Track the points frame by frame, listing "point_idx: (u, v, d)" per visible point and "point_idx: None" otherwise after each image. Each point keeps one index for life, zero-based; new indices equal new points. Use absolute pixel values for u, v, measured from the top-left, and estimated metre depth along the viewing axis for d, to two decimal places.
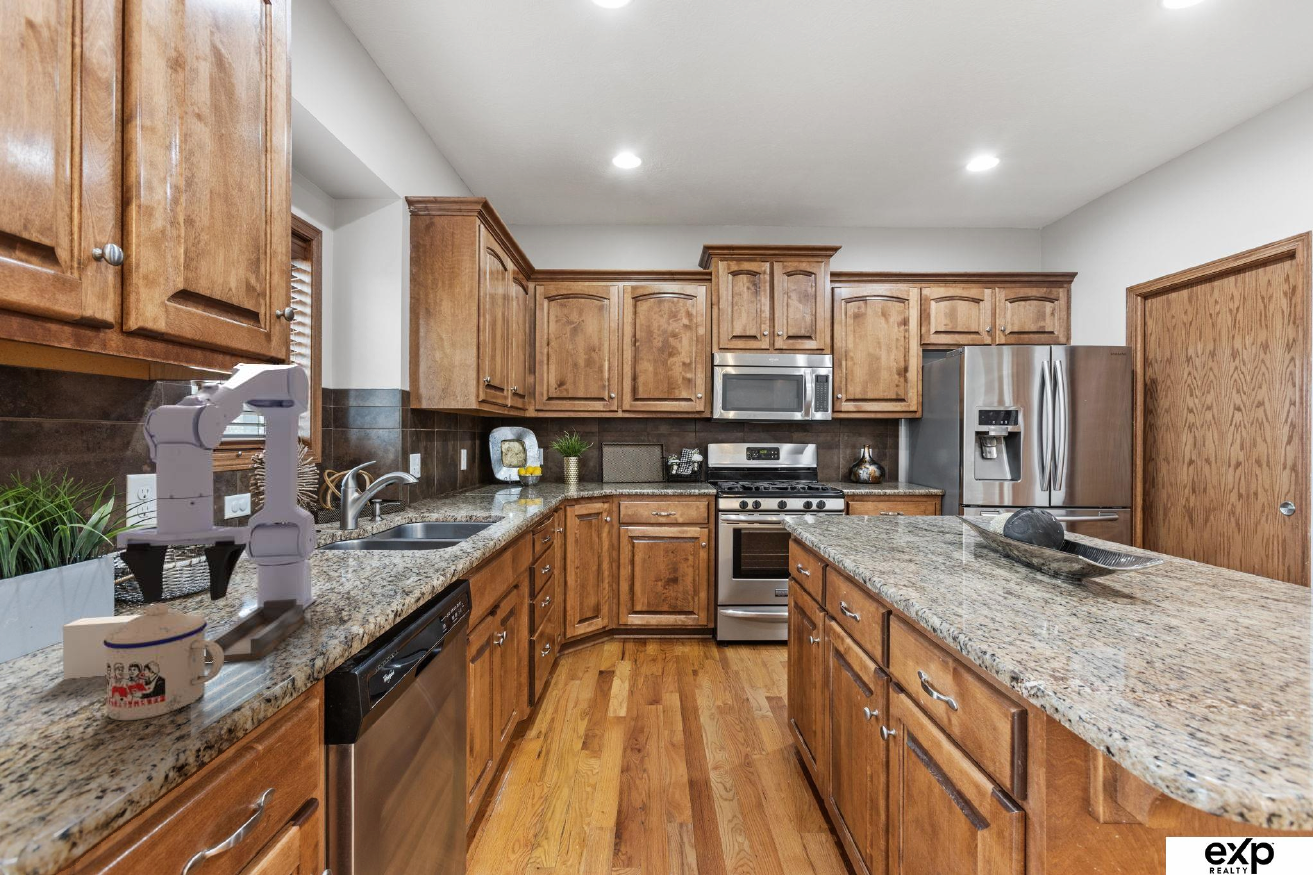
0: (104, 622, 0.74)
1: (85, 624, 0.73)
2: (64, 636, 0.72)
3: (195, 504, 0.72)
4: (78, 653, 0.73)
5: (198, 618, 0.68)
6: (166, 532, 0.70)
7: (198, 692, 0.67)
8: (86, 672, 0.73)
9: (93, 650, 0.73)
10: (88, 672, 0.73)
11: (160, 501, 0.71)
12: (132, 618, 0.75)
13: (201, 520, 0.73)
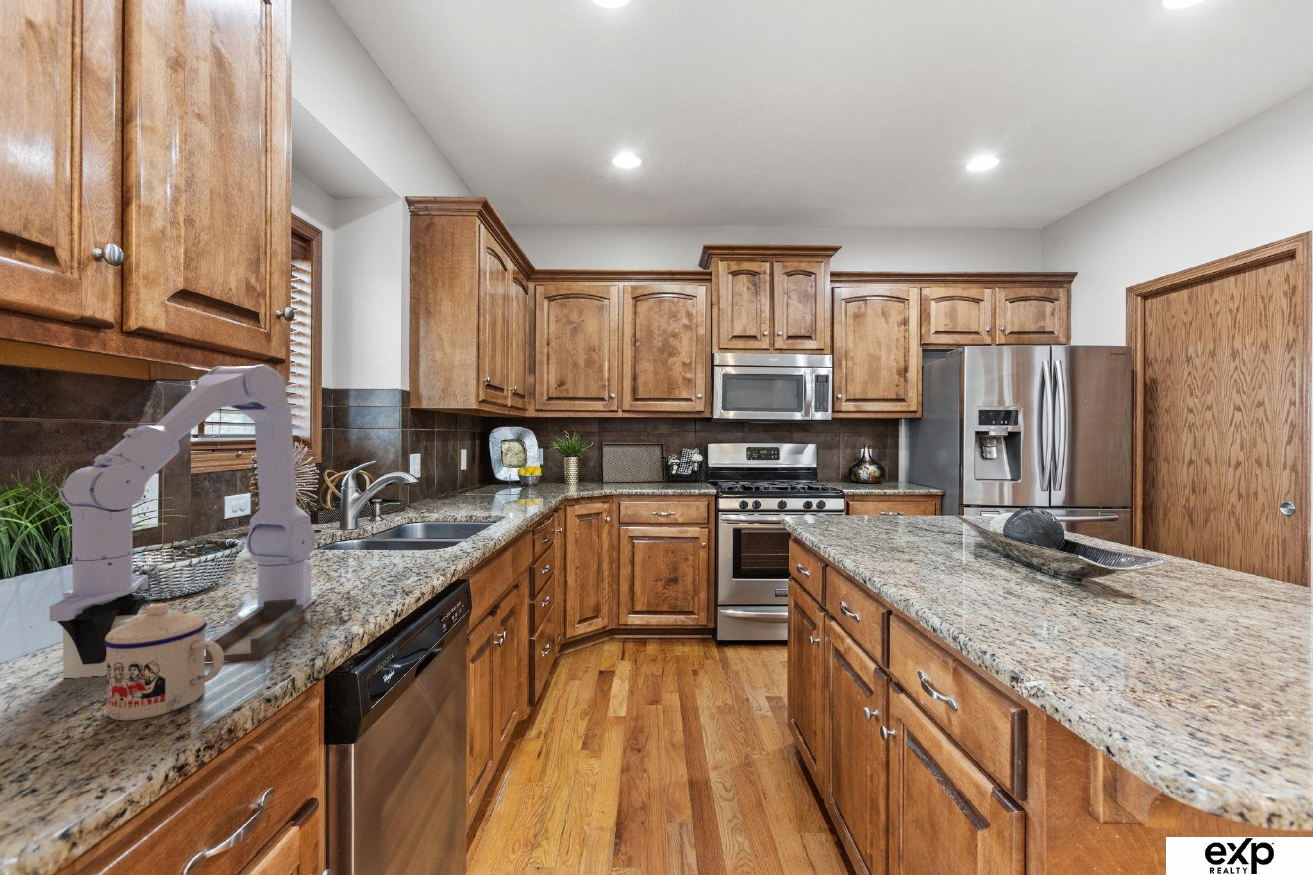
0: None
1: None
2: (64, 636, 0.72)
3: (74, 567, 0.72)
4: (78, 653, 0.73)
5: (198, 618, 0.68)
6: None
7: (198, 692, 0.67)
8: (86, 672, 0.73)
9: None
10: (88, 672, 0.73)
11: None
12: (132, 618, 0.75)
13: (77, 584, 0.72)
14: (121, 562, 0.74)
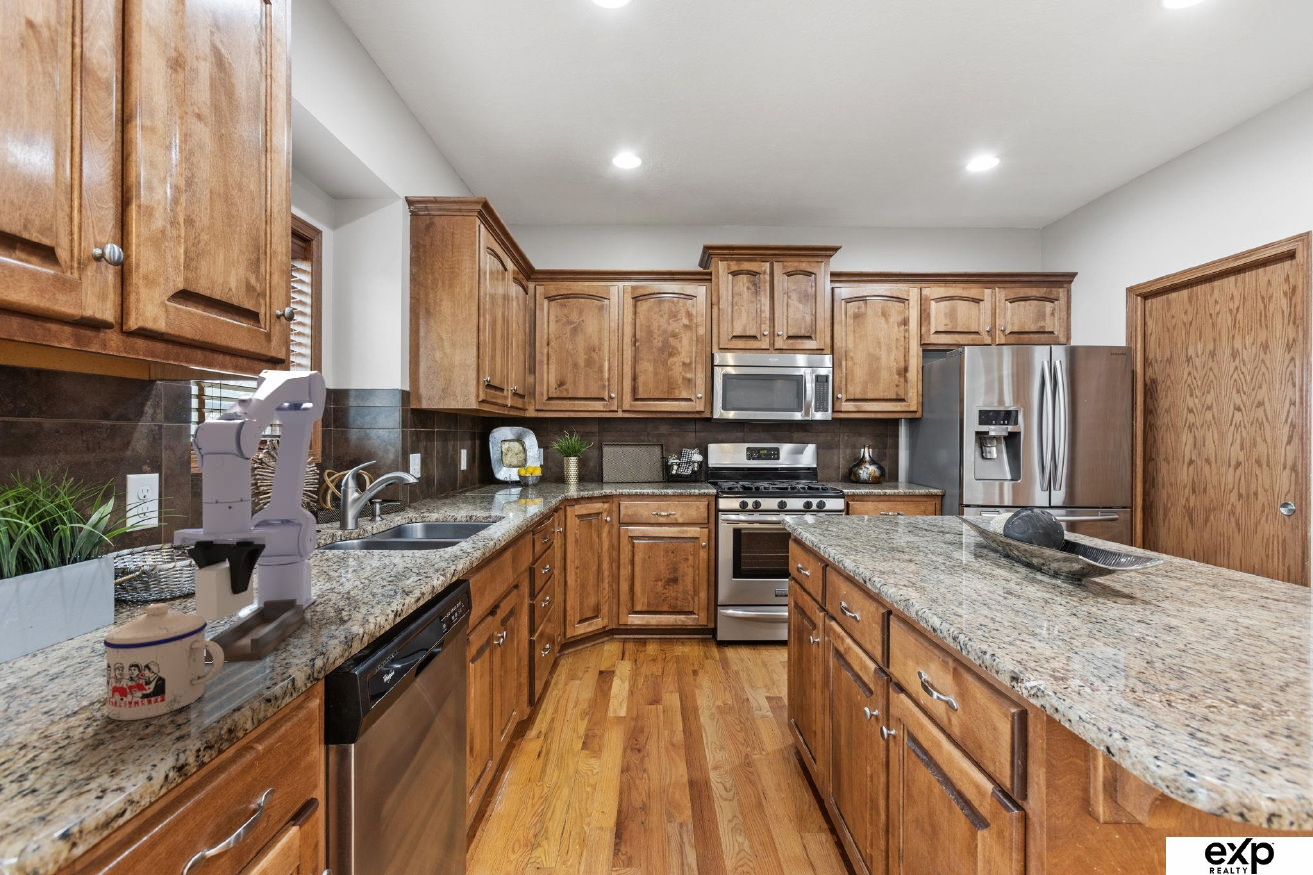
0: None
1: (227, 566, 0.81)
2: (216, 580, 0.79)
3: (232, 508, 0.81)
4: (225, 593, 0.80)
5: (198, 618, 0.68)
6: (208, 532, 0.80)
7: (198, 692, 0.67)
8: (230, 608, 0.81)
9: None
10: (231, 608, 0.82)
11: (204, 505, 0.80)
12: None
13: (238, 523, 0.81)
14: None
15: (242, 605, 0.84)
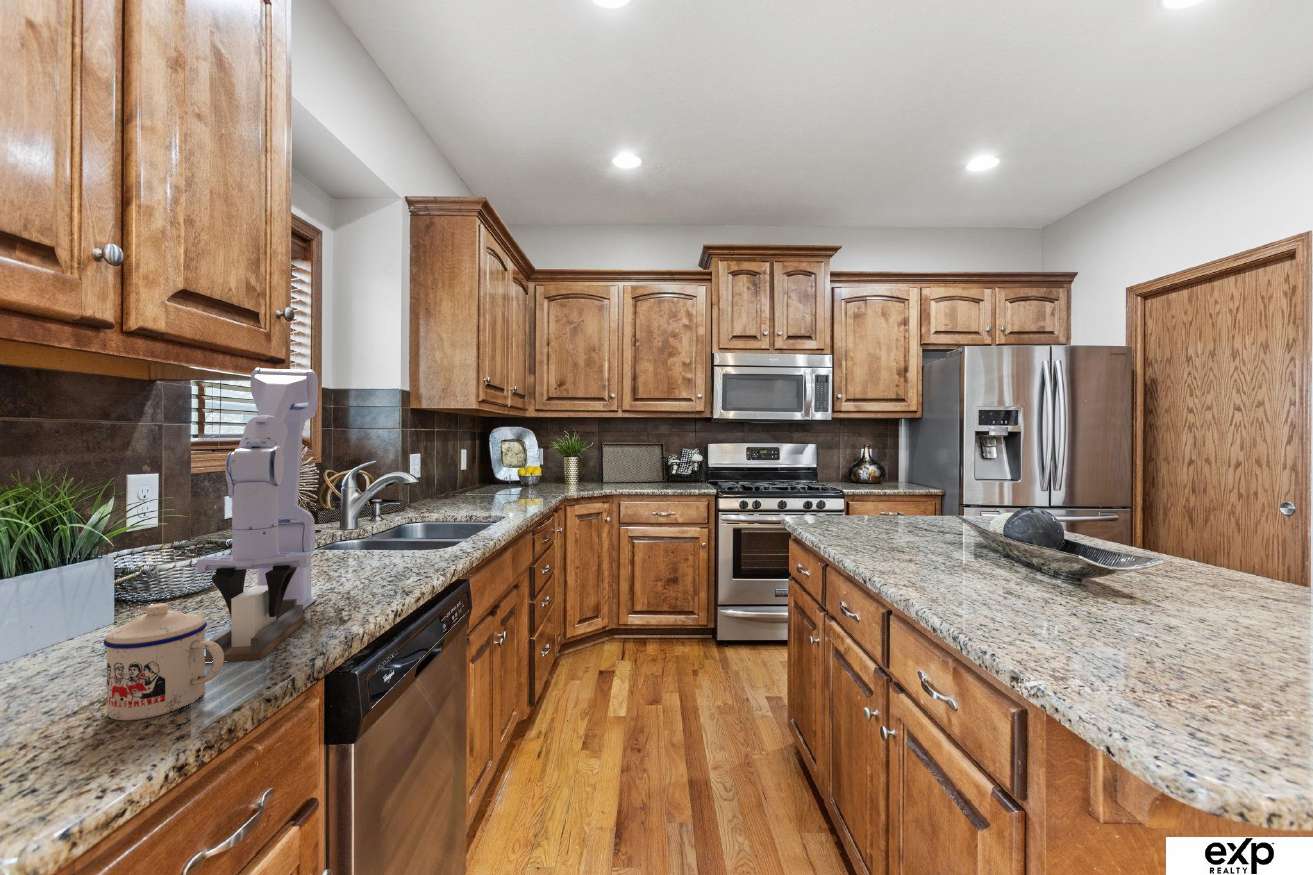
0: (264, 589, 0.85)
1: (260, 593, 0.84)
2: (255, 606, 0.81)
3: (266, 534, 0.83)
4: (260, 619, 0.83)
5: (198, 618, 0.68)
6: (242, 559, 0.82)
7: (198, 692, 0.67)
8: None
9: (265, 613, 0.84)
10: None
11: (237, 532, 0.82)
12: (264, 585, 0.88)
13: (271, 548, 0.84)
14: None
15: None
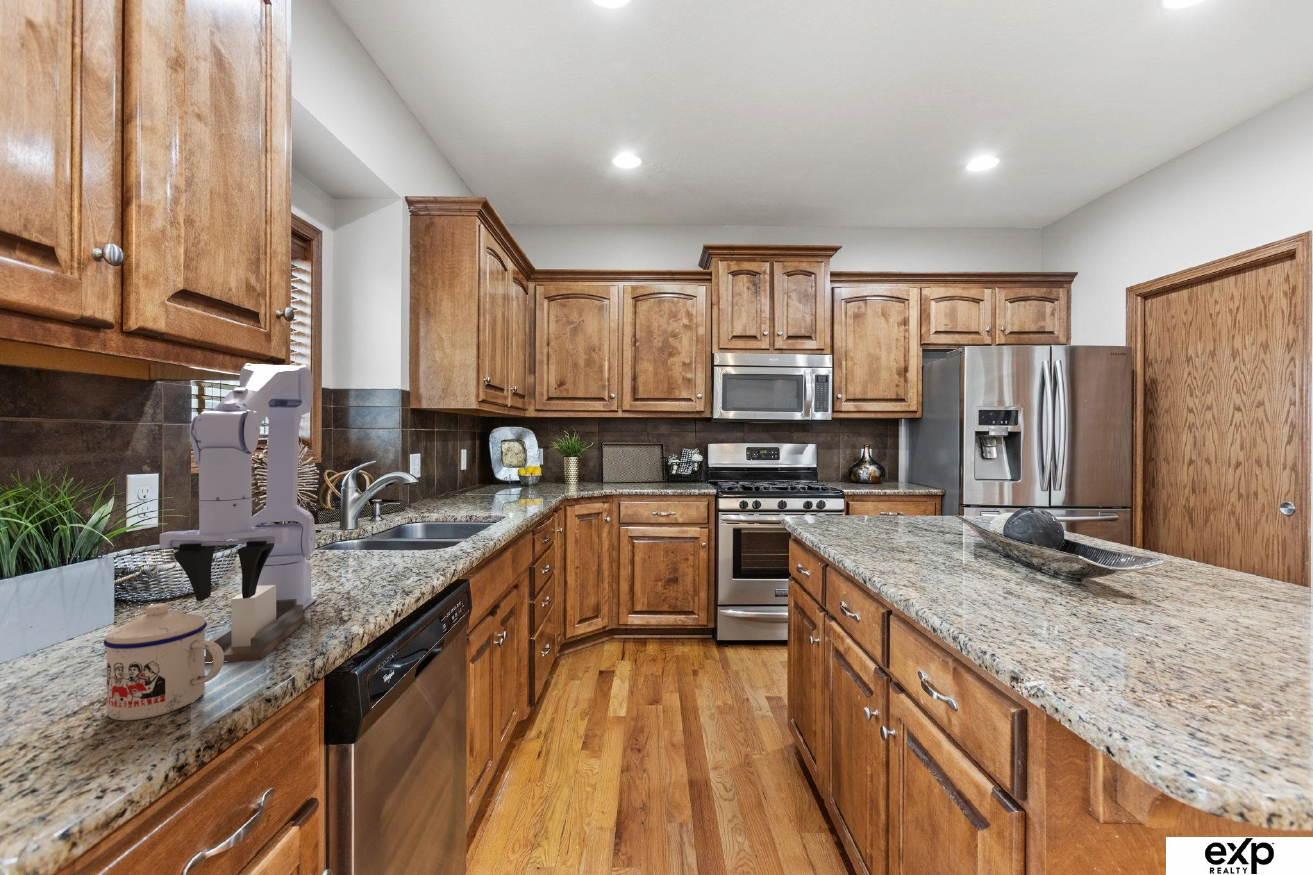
0: (264, 589, 0.85)
1: (260, 593, 0.84)
2: (255, 606, 0.81)
3: (237, 506, 0.75)
4: (260, 619, 0.83)
5: (198, 618, 0.68)
6: (210, 533, 0.74)
7: (198, 692, 0.67)
8: None
9: (265, 613, 0.84)
10: None
11: (204, 503, 0.74)
12: (264, 585, 0.88)
13: (242, 521, 0.76)
14: None
15: None
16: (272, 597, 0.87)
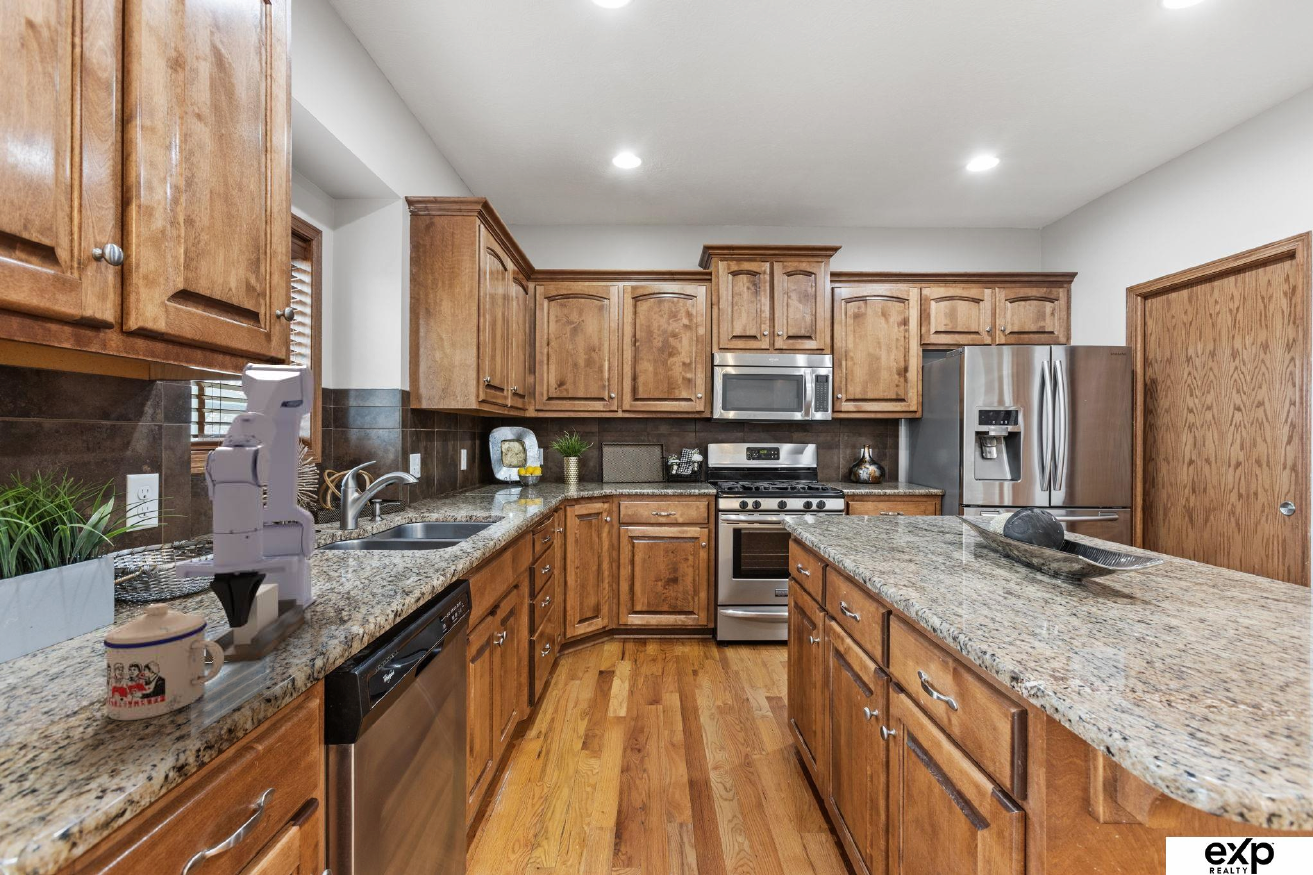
0: (267, 588, 0.86)
1: (263, 591, 0.84)
2: (257, 604, 0.82)
3: (249, 538, 0.78)
4: (262, 617, 0.84)
5: (198, 618, 0.68)
6: (224, 564, 0.77)
7: (198, 692, 0.67)
8: None
9: (267, 612, 0.85)
10: None
11: (218, 536, 0.77)
12: (266, 584, 0.88)
13: (254, 552, 0.79)
14: None
15: None
16: (274, 596, 0.88)
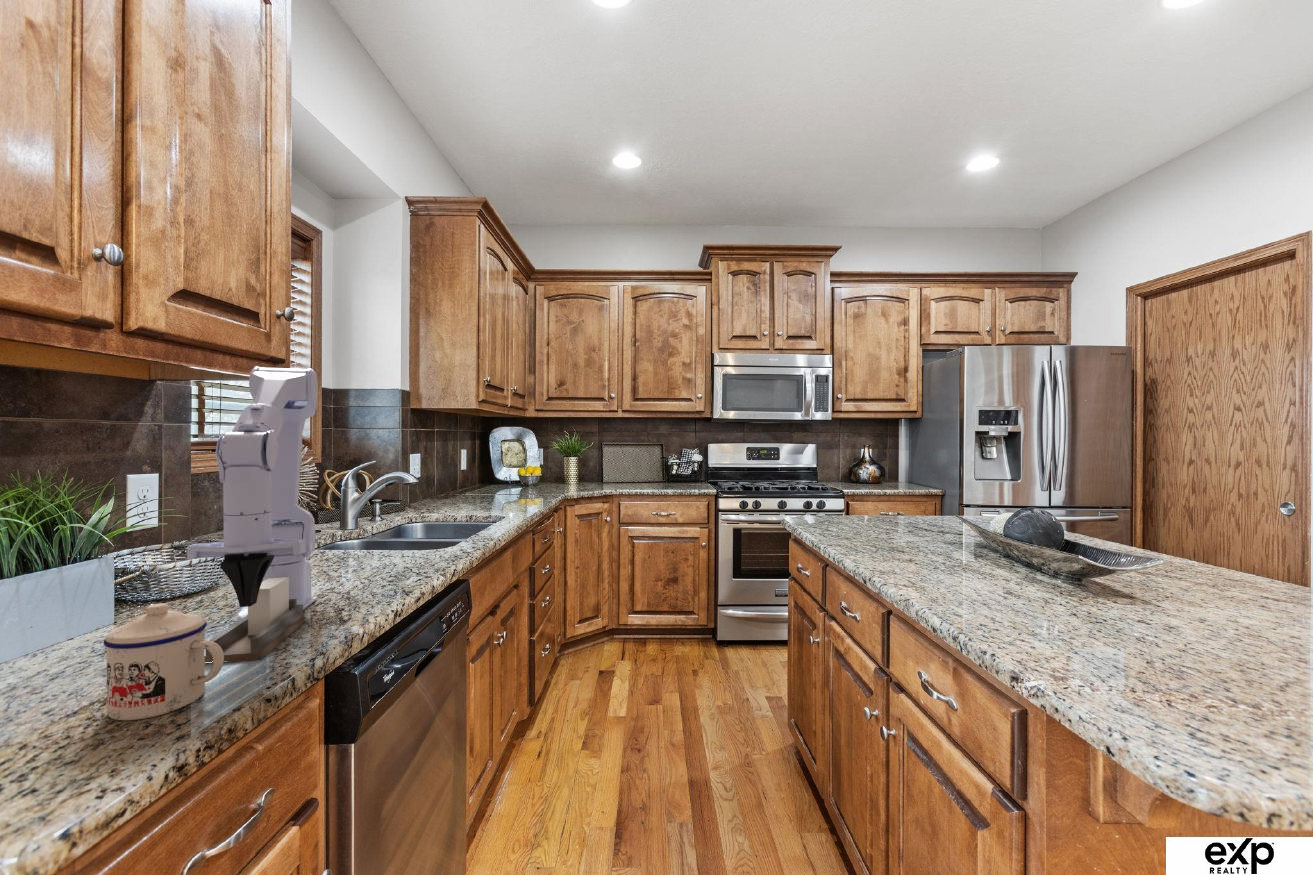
0: (278, 581, 0.90)
1: (275, 585, 0.88)
2: (270, 597, 0.86)
3: (259, 520, 0.81)
4: (274, 609, 0.88)
5: (198, 618, 0.68)
6: (234, 545, 0.80)
7: (198, 692, 0.67)
8: None
9: (279, 604, 0.89)
10: None
11: (228, 517, 0.80)
12: (278, 578, 0.92)
13: (263, 534, 0.82)
14: None
15: None
16: (285, 589, 0.92)
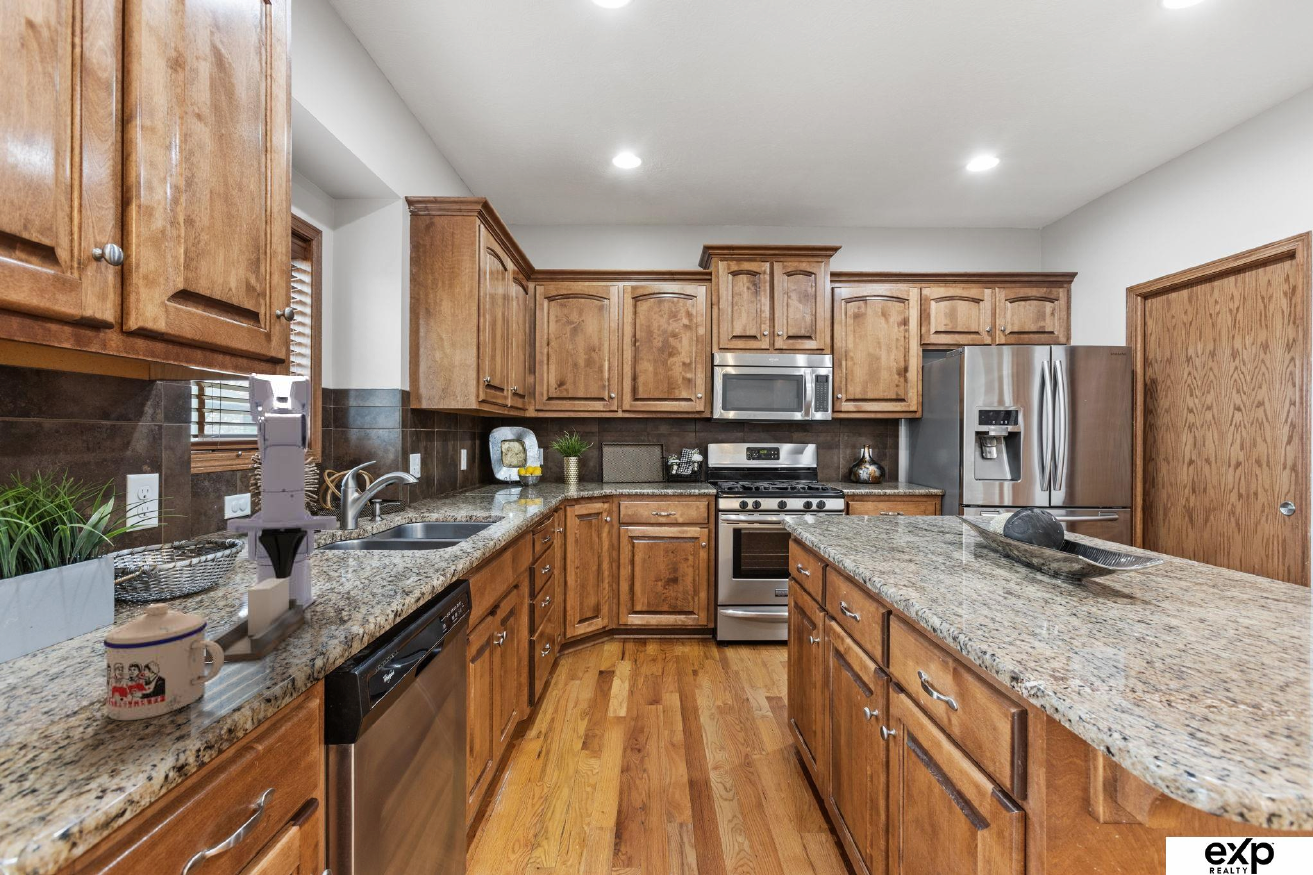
0: (278, 581, 0.90)
1: (275, 585, 0.88)
2: (270, 597, 0.86)
3: (294, 496, 0.86)
4: (274, 609, 0.88)
5: (198, 618, 0.68)
6: (271, 520, 0.84)
7: (198, 692, 0.67)
8: None
9: (279, 604, 0.89)
10: None
11: (266, 494, 0.85)
12: None
13: (298, 510, 0.87)
14: None
15: None
16: (285, 589, 0.92)
